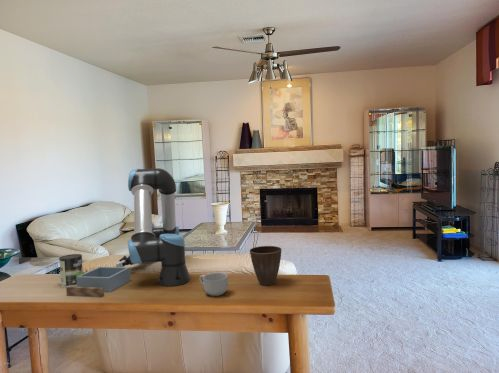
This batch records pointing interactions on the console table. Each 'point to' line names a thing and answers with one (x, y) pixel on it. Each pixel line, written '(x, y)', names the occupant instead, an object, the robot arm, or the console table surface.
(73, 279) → the coffee can
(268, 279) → the plant pot
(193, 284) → the console table surface
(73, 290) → the rail
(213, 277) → the teacup
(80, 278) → the tray
